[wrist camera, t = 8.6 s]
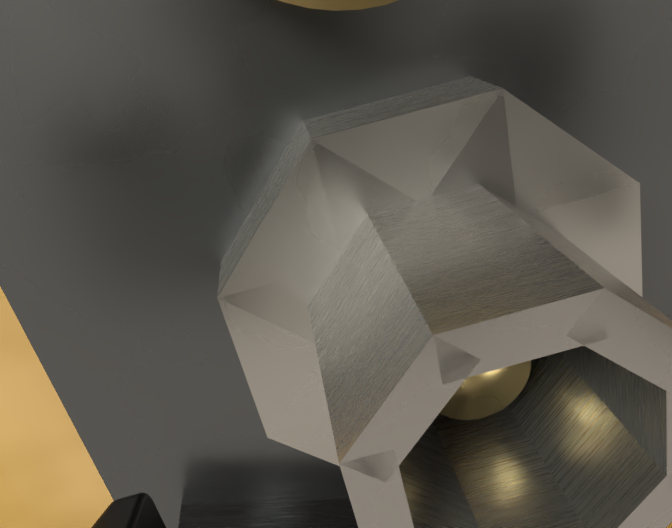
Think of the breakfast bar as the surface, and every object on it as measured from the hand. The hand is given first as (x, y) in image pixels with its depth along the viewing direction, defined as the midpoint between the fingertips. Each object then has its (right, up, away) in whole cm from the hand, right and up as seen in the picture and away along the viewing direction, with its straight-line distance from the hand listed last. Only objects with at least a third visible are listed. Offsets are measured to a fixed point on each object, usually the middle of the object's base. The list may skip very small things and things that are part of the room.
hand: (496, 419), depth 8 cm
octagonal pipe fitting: (0, +2, +3) cm, 4 cm away
